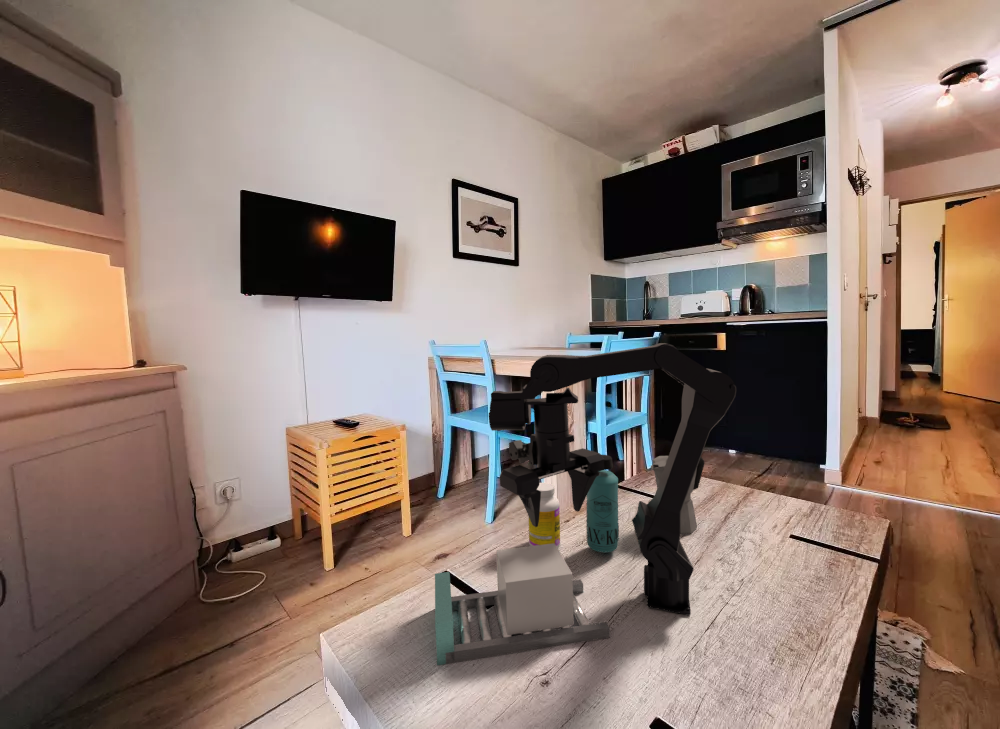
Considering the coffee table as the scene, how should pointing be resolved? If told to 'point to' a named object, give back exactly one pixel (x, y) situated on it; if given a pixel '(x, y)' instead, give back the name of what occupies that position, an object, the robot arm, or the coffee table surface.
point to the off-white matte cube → (534, 588)
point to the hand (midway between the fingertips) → (556, 518)
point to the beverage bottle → (603, 510)
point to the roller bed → (508, 642)
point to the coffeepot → (687, 510)
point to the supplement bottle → (546, 518)
